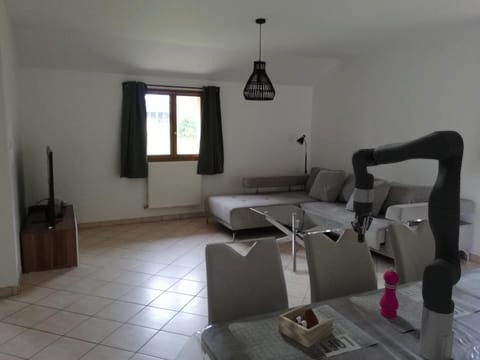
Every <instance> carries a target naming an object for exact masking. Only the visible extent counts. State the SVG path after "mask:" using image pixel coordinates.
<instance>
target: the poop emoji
mask: <svg viewBox="0 0 480 360" xmlns="http://www.w3.org/2000/svg"><path fill="white" fill-rule="evenodd" d="M296 322H297V324H299V325H301V326H303V327H305V328H306V329H310V328H312V327H314V326H316V325H317V324H319V318H318V317H317V315H316V314H315V311H314V310H313V308H311V307H310V308H305V312H304V313H303V314H302V315H301V316H300V317H297V319H296Z"/></svg>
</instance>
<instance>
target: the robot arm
mask: <svg viewBox="0 0 480 360" xmlns="http://www.w3.org/2000/svg"><path fill="white" fill-rule="evenodd" d="M464 150H465V145H464V139H463V137H462V135H461V134H460V133H459V131H455V130H449V129H448V130H435V131H433V132H431V133H428V134H425V135H423V136H422V135H421V136H420V137H418V138H414V139H411V140H407V141H401V142H394V143H388V144H382V145H380V146H377V147H374V148H373V147H372V148H371V147H370V148H359V149H356V150H355V151H354V152H353V154H352V156H351V165H352V169H353V173H354V190H353V199H352V211H353V212H354V213H355V215H354V220H352V221H350V225H351V227H352V229H353V232H354V233H357V242H358V243H360V244H363V243H365V238H366V237H365V236H366V234H367V232H369V229H370V228H371V225H372V223H373V220H374V218H373V217H372V216H371V213H373V212H374V200H375V199H374V196H375V193H374V189H375V188H374V186H375V184H374V183H375V176H374V174H372V173H370V172H369V171H368V167H370V168H371V167H377V166H381V165H391V164H397V163H401V162H405V161H408V160H419V159H421V160H435V161H437V162H438V165H437V176H436V180H435V182H434V184H433V186H432V189H431V191H430V194H429V196H428V203H427V207H428V208H427V219H428V224H429V227H430V230H431V233H432V236H433V239H434V257H433V258H434V259H433V261H432V262H431V263H429V264H427V265H426V266H425V268H424V270H423V273H422V283H421V297H422V300H423V302H422V312H421V313H422V314H421V321H420V322H421V325H420V332H419V333H420V334H419V344H418V353H419V355H420V356H421V357H422V358H424V359H426V360H451V358H452V354H453V346H454V337H455V331H454V330H453V327H454V326H453V323H454V315H455V307H456V306H455V305H456V304H455V302H454V300H453V299H452V298H453V288H454V287H455V286H456V285H457V284H458V283H459V282H460V280H461V277H462V265H461V258H460V231H461V230H460V226H461V225H460V224H461V223H460V222H461V178H462V177H461V175H462V165H463V159H464V152H465V151H464Z"/></svg>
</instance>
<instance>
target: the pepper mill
mask: <svg viewBox="0 0 480 360" xmlns="http://www.w3.org/2000/svg"><path fill="white" fill-rule="evenodd" d="M382 279H383V281H384V282H383V286H384V287H385V288H384V293H383V294H382V295H381V298H380V300H379V306H380V311H379V313H380V315H381V316H382V317H384V318H386V319H387V318H388V319H394V318H395V319H396V317H397V316H398V315H397V314H398V312H397V310H399V306H400V304H399V300H398V297H397V294H396V291H397V288H398V283H399V281H400V274H399V273H398V272H396V271H395V268H394V267H389V270H387V271H385V272H384V274H383V278H382Z"/></svg>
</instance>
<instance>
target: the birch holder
mask: <svg viewBox="0 0 480 360" xmlns="http://www.w3.org/2000/svg"><path fill="white" fill-rule="evenodd" d="M305 310H306V305H305V304H302V305H299V306H297V307H295V308H293V309H290V310H288V311H286V312H285V313H281V314H279V316H278V331H279V332H280V333H281V334H283V335H285V336H287V337H289V338H290V339H292V340H294V341H296V342H298V343H299V344H300V345H303V346H304V347H306V348H310V347H312V346H313V345H315V344H317V343H318V342H320V341H322V340H323V339H326V338H327V337H329V336H330V335H332V334H333V328H334V327H333V326H334V318H333V317H328V318H327V319H325V320H323V321H321V322H320V323H319V324H317V325H316V326H314V327H312V328H310V329H306V328H305V327H303V326H301V325H299V324H297V322H296V319H297V317H300V316H301V315H302V314H303V313H304V312H305Z"/></svg>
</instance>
